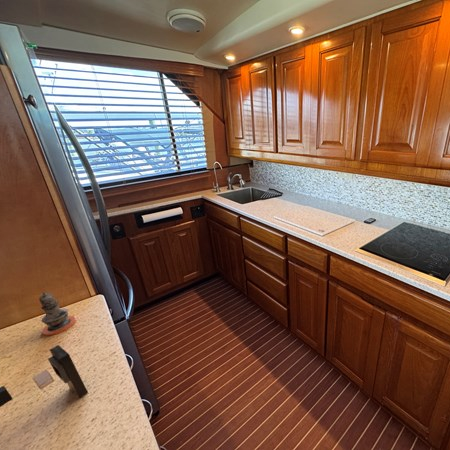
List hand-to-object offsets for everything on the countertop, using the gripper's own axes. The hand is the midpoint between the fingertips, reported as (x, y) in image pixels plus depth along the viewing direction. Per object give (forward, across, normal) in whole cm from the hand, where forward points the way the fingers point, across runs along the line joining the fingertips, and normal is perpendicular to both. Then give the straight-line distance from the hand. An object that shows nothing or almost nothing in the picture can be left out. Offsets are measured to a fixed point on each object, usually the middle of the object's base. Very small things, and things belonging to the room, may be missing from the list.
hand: (8, 392), depth 44 cm
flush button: (+4, 0, -3) cm, 5 cm away
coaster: (+15, -30, -10) cm, 35 cm away
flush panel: (+7, 0, -10) cm, 12 cm away
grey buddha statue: (+15, -30, -9) cm, 35 cm away
